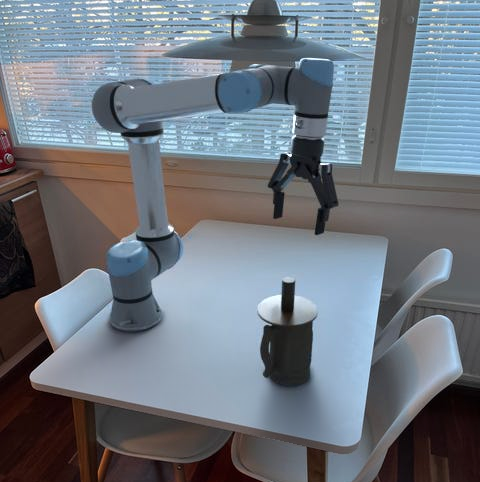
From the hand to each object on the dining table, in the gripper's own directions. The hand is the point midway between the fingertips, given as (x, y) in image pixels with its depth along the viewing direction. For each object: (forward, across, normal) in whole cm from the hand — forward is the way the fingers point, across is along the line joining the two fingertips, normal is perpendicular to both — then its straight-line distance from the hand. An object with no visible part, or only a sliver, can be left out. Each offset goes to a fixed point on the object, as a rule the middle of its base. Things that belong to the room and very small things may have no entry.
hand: (297, 225), depth 118 cm
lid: (+14, +12, -15) cm, 24 cm away
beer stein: (+34, +13, -14) cm, 39 cm away
